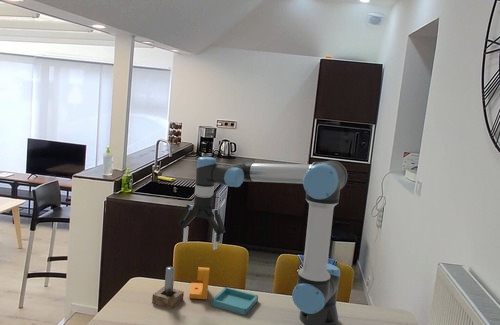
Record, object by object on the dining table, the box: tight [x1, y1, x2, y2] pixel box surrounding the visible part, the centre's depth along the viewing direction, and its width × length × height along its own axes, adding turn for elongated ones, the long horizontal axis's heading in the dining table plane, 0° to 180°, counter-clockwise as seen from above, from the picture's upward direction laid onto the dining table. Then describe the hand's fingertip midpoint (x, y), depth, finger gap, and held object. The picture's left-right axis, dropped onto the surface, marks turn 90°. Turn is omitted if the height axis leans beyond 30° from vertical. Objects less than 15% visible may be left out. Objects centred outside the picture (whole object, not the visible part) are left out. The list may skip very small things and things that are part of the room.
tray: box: [210, 286, 259, 316], centre depth 187 cm, size 15×14×2 cm
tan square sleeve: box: [151, 285, 185, 309], centre depth 183 cm, size 9×9×4 cm
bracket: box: [188, 266, 211, 300], centre depth 191 cm, size 11×7×12 cm, turn 4°
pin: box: [164, 266, 176, 297], centre depth 182 cm, size 3×3×14 cm
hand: (200, 245), depth 187 cm, fingers open, 13 cm apart
